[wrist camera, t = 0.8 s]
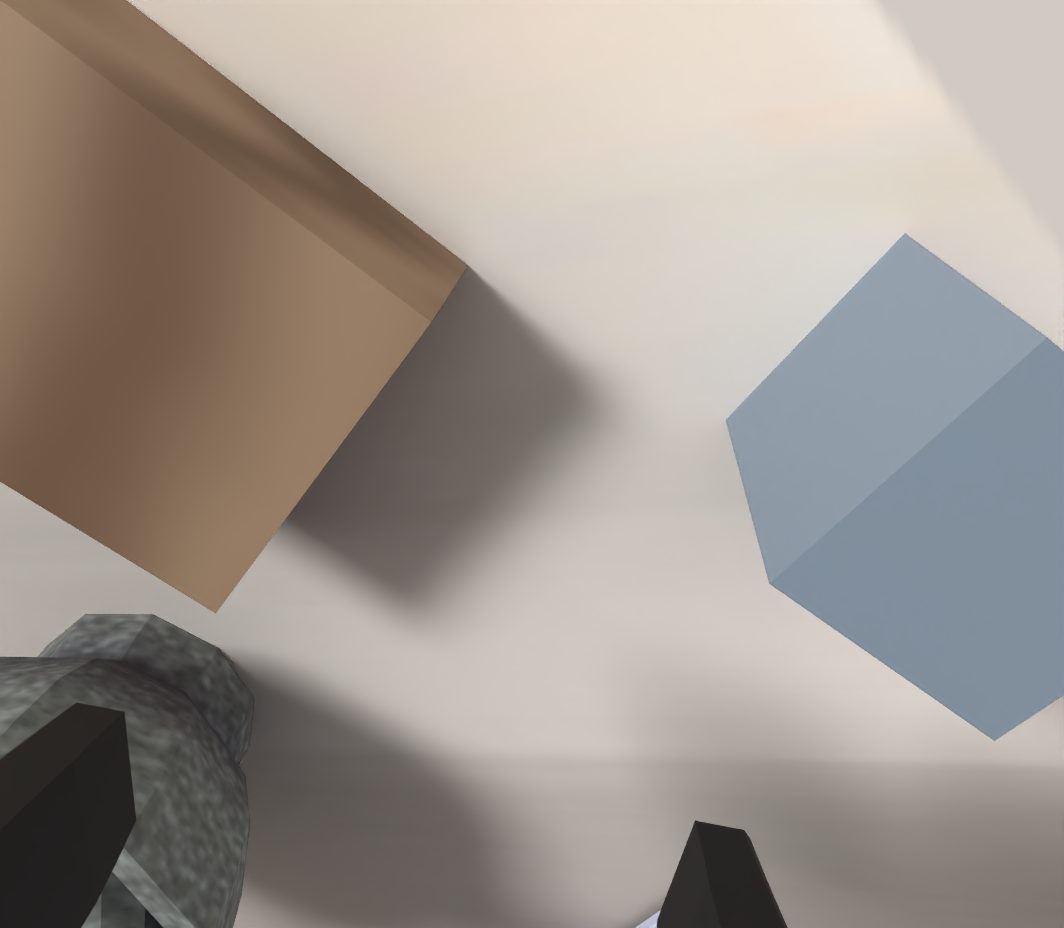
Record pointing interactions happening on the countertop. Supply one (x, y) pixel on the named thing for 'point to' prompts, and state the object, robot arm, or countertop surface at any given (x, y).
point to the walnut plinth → (181, 295)
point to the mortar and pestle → (154, 760)
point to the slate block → (920, 486)
